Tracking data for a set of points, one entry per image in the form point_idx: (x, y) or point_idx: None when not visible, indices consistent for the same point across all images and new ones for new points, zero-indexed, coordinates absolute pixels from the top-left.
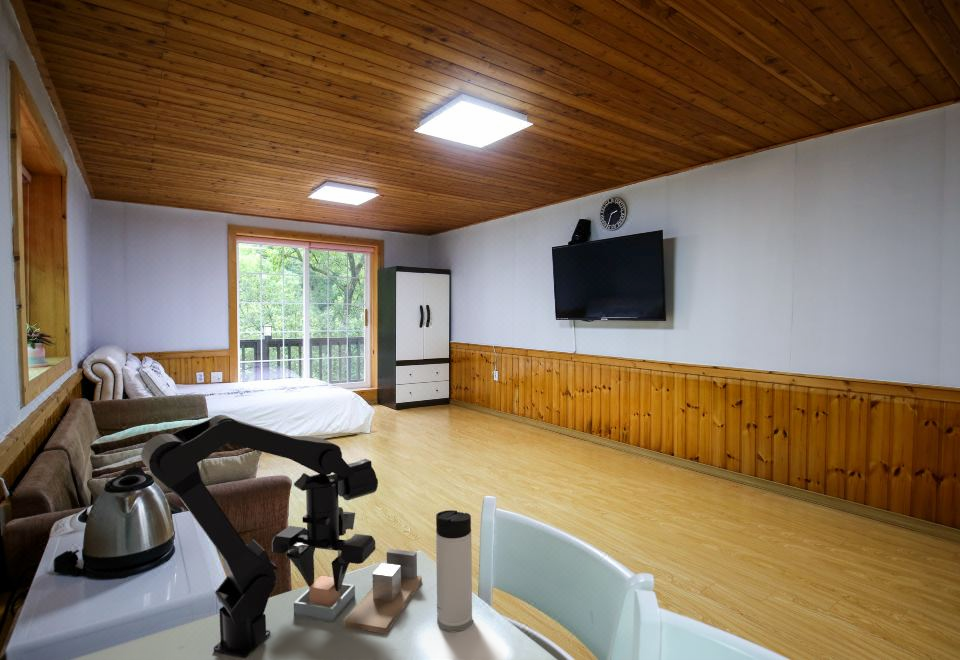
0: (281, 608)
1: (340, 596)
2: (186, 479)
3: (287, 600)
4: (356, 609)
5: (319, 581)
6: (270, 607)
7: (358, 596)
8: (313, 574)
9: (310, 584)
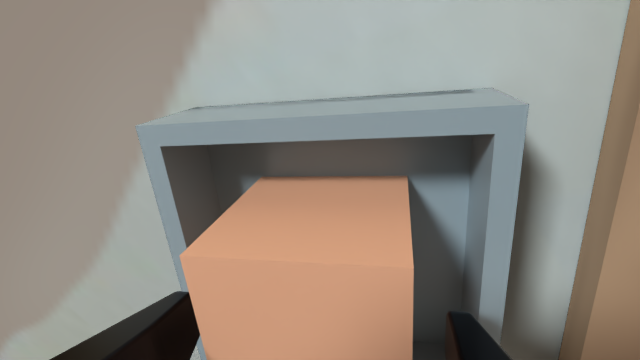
0: (146, 283)
1: (392, 151)
2: None
3: (116, 225)
4: (618, 289)
5: (237, 339)
6: (100, 285)
7: (516, 63)
8: (129, 357)
9: (191, 350)
